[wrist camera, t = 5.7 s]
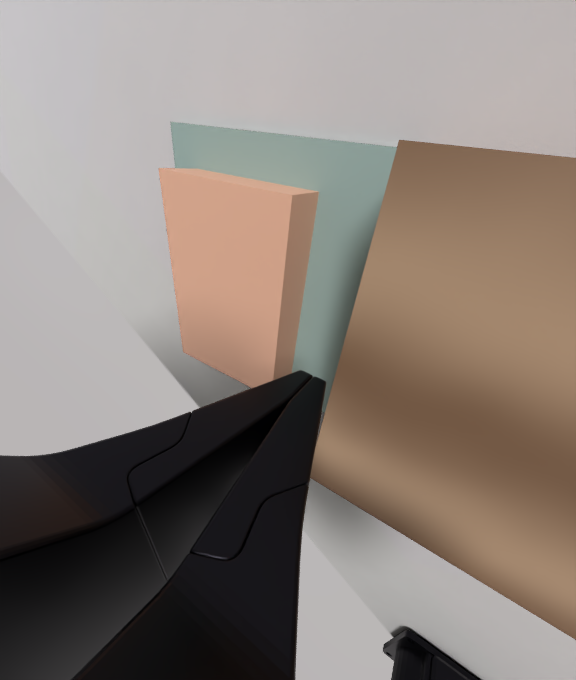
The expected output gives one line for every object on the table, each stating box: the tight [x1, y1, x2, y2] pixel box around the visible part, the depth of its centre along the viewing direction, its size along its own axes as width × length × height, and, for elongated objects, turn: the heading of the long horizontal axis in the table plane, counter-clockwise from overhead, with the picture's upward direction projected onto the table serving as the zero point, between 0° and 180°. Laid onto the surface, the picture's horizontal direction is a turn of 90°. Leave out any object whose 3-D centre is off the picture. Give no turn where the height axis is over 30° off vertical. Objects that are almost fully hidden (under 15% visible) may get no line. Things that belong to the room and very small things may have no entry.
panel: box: [171, 122, 397, 413], centre depth 14 cm, size 12×10×1 cm
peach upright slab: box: [159, 168, 319, 388], centre depth 13 cm, size 9×6×2 cm, turn 173°
